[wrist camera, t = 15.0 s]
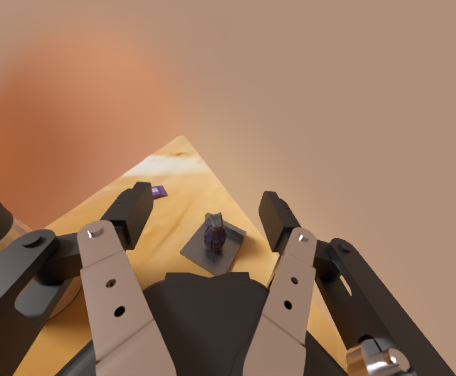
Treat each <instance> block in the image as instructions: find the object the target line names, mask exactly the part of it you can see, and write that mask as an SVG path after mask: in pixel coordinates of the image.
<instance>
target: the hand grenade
mask: <svg viewBox="0 0 456 376" xmlns="http://www.w3.org/2000/svg"><path fill="white" fill-rule="evenodd" d="M209 218H210V219H211V226H208V227H207V228H206V230H205V233H204V243H205V245H206V247H207V248H208V249H209V250H211V251H212V250H213V251H218V250H220V249H221V248H222V247H223V246H224V244H225V240H226V232H225V230H224V229H223V227H224V225H223V220H222V215H221V213H218V214H214V215H210V217H209ZM209 218H208V219H209Z"/></svg>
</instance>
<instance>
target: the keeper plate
mask: <svg viewBox="0 0 456 376" xmlns="http://www.w3.org/2000/svg"><path fill="white" fill-rule="evenodd" d="M210 215H212V214H210V213H207V214H206V215H205V222H204V223H203V224H202V226H201V227H200V228H199V229H198V230H197V232H196V233H195V234H194V235H193V236H192V238H191V239H190V240H189V241H188V242H187V244H186V245H185V246H184V247H183V249H182V250H181V251H180V254H182V255H183V256H185V257H186V258H188V259H190V260H191V261H193V262H194V263H196V264H197V265H199V266H201V267H202V268H204V269H205V270H207V271H208V272H210V273H212V274H213V275H215V276H218V275H222V274H225V273H227V271H228V269H229V267H230V265H231V263H232V262H233V260H234V258H235V256H236V254H237V252H238V250H239V248H240V246H241V244H242V243H243V241H244V238H245V235H246V232H245V231H243V230H241V229H239V228H238V227H236V226H234V225H232V224H230V223H228V222H226V221H224V220H223V225H224V227H223V229H224V230H225V232H226V240H225V244H224V246H223V247H222V248H221V249H220V250H218V251H213V250H212V251H211V250H209V249H208V248H207V247H206V245H205V243H204V233H205V230H206V228H207V227H208V226H211V219H210V218H209V217H210ZM208 218H209V219H208Z"/></svg>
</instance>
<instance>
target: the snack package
mask: <svg viewBox="0 0 456 376" xmlns="http://www.w3.org/2000/svg"><path fill="white" fill-rule="evenodd" d="M152 194H153V199H156V198H159V197H162V196H165V195H167V194H166V193H165V191H164V189H163V187H162V185H161V186H155V187H152Z"/></svg>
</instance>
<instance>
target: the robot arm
mask: <svg viewBox="0 0 456 376" xmlns="http://www.w3.org/2000/svg"><path fill="white" fill-rule="evenodd" d="M152 209H153V194H152V187H151V183H149V182H137V183H136V184H135V185H134V187H133V188H132V189H127V190H125V191H123V192H122V193H121V194H120V195H119V196H118V197H117V199H116V200H115V201H114V202H113V204H112V205H111V206H110V208H109V209H108V210H107V211H106V213H105V214H104V215H103V216H102V218H101V219H100V220H98V221H94V222H91V223H89V224H87V225H85V226H84V227H82V228H81V229H80V230H79V232H77V233H72V234H67V235H62V236H56V235H55V233H54V232H53V231H51V230H47V229H43V230H36V231H33V230H31V229H30V228H29V227H27V226H26V225H25V224H24V223H23V222H21V221H20V220H19V219H18V218H17V217H15V216H14V215H13V214H12V213H10V212H9V211H8V210H7V209H6V208H4V207H3V206H2V204H1V203H0V376H13V374H14V372H15V371H16V369H17V368H18V366H19V365H20V363H21V361H22V360H23V358H24V357H25V355H26V353H27V352H28V350H29V349H30V347H31V345H32V344H33V342H34V341H35V339H36V337H37V336H38V334H39V333H40V331H41V329H42V328H43V326H44V325H45V323H46V321H47V320H48V319H50V318H52V317H53V316H55V315H56V314H58V313H59V312H60V311H62V310H63V309H64V308H65V307H66V306H67V305H68V304H69V303H70V302H71V301H72V300H73V299H74V297H75V296H76V295H77V293H78V291H79V290H80V288H81V285H83V290H84V295H85V301H86V306H87V312H88V317H89V323H90V328H91V333H92V340H91V341H90V342H89V343H88V344H87V345H86V346H85V347H84V348H83V349H82V350H80V351H79V352H78V353H77V354H76V355H75V356H74V357H73V358H72V359H71V360H70V361H69V362H68V363H67V364H66V365H65V366H64V367H63V368H62V369H61V370H60V371H59V372H58V373H57V374H56V375H55V376H456V375H455V374H454V372H453V371H452V370H451V369H450V367H449V366H448V365H447V364H446V362H445V361H444V360H443V359H442V357H441V356H440V355H439V354H438V352H437V351H436V350H435V348H434V347H433V346H432V345H431V343H430V342H429V341H428V340H427V339H426V337H425V336H424V335H423V333H422V332H421V331H420V329H419V328H418V327H417V326H416V324H415V323H414V322H413V321H412V319H411V318H410V317H409V316H408V314H407V313H406V312H405V311H404V309H403V308H402V307H401V306H400V304H399V303H398V302H397V300H396V299H395V298H394V297H393V295H392V294H391V293H390V292H389V290H388V289H387V288H386V287H385V285H384V284H383V283H382V281H381V280H380V279H379V278H378V276H377V275H376V274H375V273H374V271H373V270H372V269H371V268H370V266H369V265H368V264H367V263H366V261H365V260H364V259H363V257H362V256H361V255H360V254H359V252H358V251H357V250H356V249H355V248H354V247H353V246H352V245H351V244H350V243H348V242H346V241H345V240H343V239H339V238H334V239H332V240H331V242H330V243H327V242H324V241H320V240H317V239H316V238H315V236H314V235H313V234H312V233H311V232H310V231H308V230H307V229H304V228H302V227H301V226H300V224H299V223H298V221H297V219H296V218H295V216H294V215H293V214H292V211H291V210H290V208H289V206H288V204H287V203H286V202H285V201H283V200H282V199H279V197H278V195H277V194H276V192H272V191H265V192H264V193H263V196H262V199H261V203H260V206H259V216H260V219H261V222H262V224H263V228H264V230H265V233H266V236H267V239H268V242H269V245H270V248H271V250H272V252H279V254H280V256H279V258H278V260H277V262H276V265H275V267H274V270H273V272H272V274H271V277H270V279H269V282H268V284H267V286H266V287H265V286H264V285H262V284H261V283H259V282H257V281H255V280H252V279H250V277H249V272H229V273H225V274H222V275H218V276H215V277H211V278H207V277H203V276H199V275H195V274H191V273H166V277H165V280H161V281H159V282H156V283H154V284H152V285H150V286H149V287H147V288H146V289H144V290H143V291H142V290H141V288H140V285H139V283H138V281H137V278H136V276H135V274H134V271H133V269H132V267H131V264H130V262H129V260H128V257H127V255H126V253H125V252H126V250H134V248H135V246H136V244H137V242H138V240H139V237H140V235H141V233H142V231H143V229H144V226H145V224H146V222H147V220H148V218H149V216H150V213H151V211H152ZM341 275H342V276H343V277H344V279H345V280H346V282H347V284H348V285H349V287H350V289H351V293H352V296H350V294H349V292H348V291H347V289H346V287H345V286H344V284H343V282H342V281H341V279H340V276H341ZM314 280H315V282H316V284H317V286H318V288H319V290H320V293H321V295H322V297H323V299H324V301H325V303H326V306H327V308H328V310H329V312H330V314H331V316H332V319H333V321H334V323H335V325H336V327H337V329H338V332H339V334H340V336H341V338H342V340H343V343H344V345H345V347H346V349H347V356H346V358H347V364H348V367H347V373H348V374H347V373H346V372H345V371H344V370H343V368H342V367H341V366H340V365H339V364H338V363H337V362H336V361H335V360H334V359H333V358H332V357H331V356H330V354H329V353H328V352H327V351H326V350H325V349H324V348H323V347H322V346H321V345H320V344H319V343H318V342H317V341H316V339H315V338H314V337H313V336H312V335H311V334H310V333H309V332H308V331H307V323H308V317H309V311H310V304H311V298H312V291H313V285H314Z"/></svg>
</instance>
